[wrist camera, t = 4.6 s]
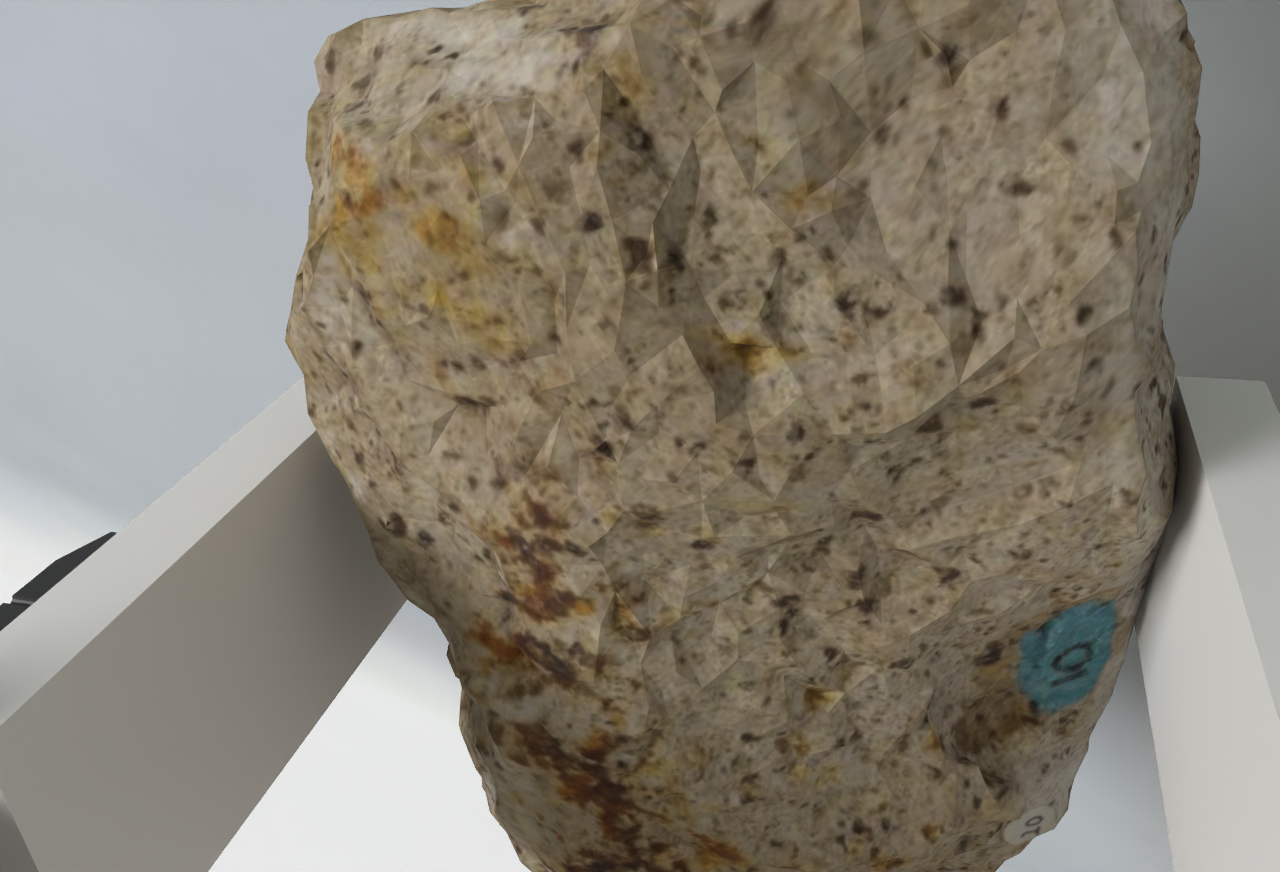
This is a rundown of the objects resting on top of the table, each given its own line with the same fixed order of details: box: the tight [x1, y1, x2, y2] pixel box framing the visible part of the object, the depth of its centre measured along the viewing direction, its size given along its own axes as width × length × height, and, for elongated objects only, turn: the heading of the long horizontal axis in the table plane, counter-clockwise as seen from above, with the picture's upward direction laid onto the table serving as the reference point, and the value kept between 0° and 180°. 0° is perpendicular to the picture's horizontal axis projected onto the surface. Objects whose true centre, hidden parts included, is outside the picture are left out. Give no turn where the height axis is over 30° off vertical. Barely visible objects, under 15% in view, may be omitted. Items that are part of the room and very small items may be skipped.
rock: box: [285, 0, 1202, 872], centre depth 11 cm, size 8×11×4 cm
